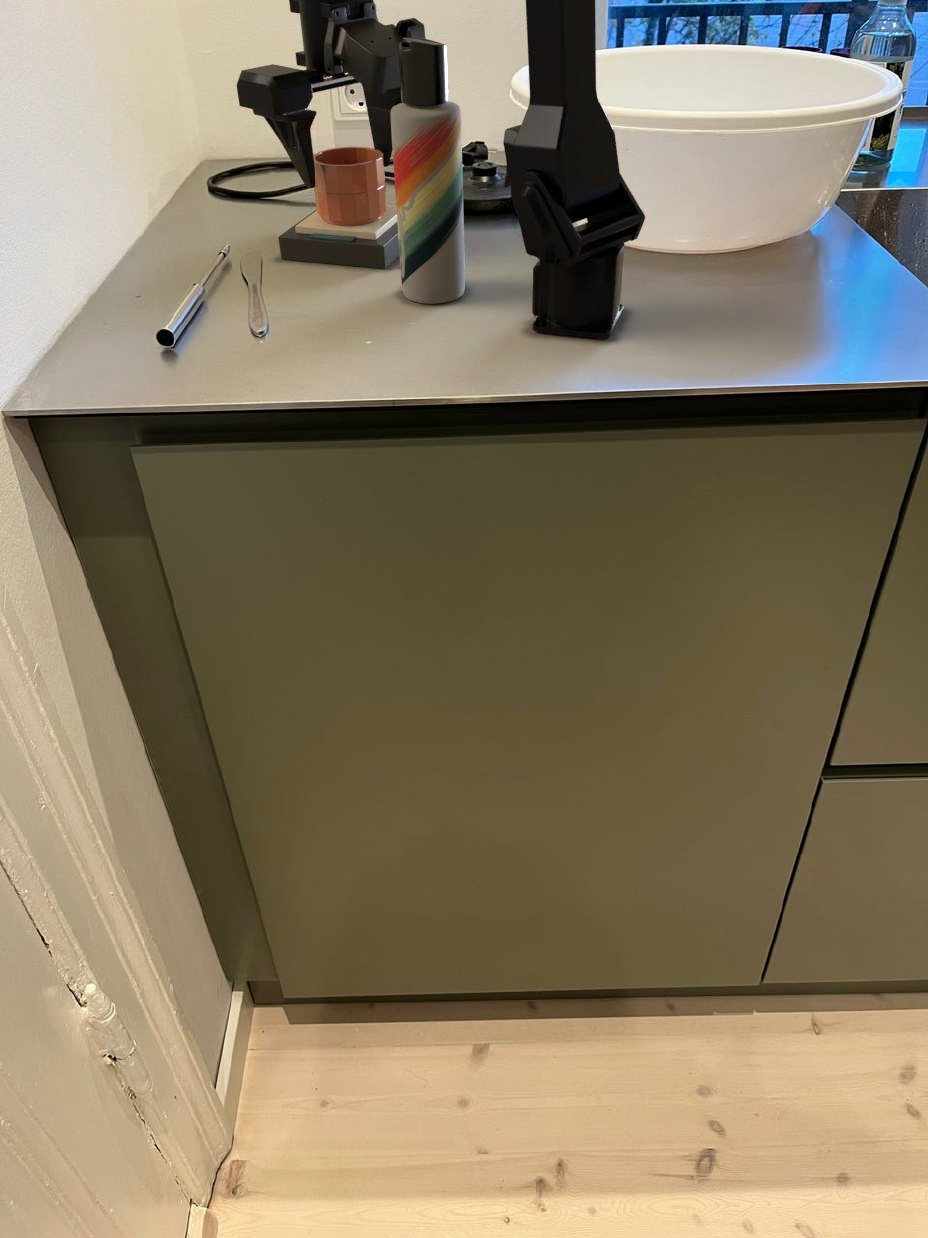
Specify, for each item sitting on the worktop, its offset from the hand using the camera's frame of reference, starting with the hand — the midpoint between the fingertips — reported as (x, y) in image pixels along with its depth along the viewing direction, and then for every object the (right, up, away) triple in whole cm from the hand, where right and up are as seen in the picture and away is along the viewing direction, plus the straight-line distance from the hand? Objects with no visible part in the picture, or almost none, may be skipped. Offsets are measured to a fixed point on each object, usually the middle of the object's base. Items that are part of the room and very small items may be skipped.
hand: (348, 176), depth 94 cm
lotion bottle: (+8, -13, -6) cm, 17 cm away
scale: (0, -5, +4) cm, 7 cm away
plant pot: (0, -3, +2) cm, 4 cm away
